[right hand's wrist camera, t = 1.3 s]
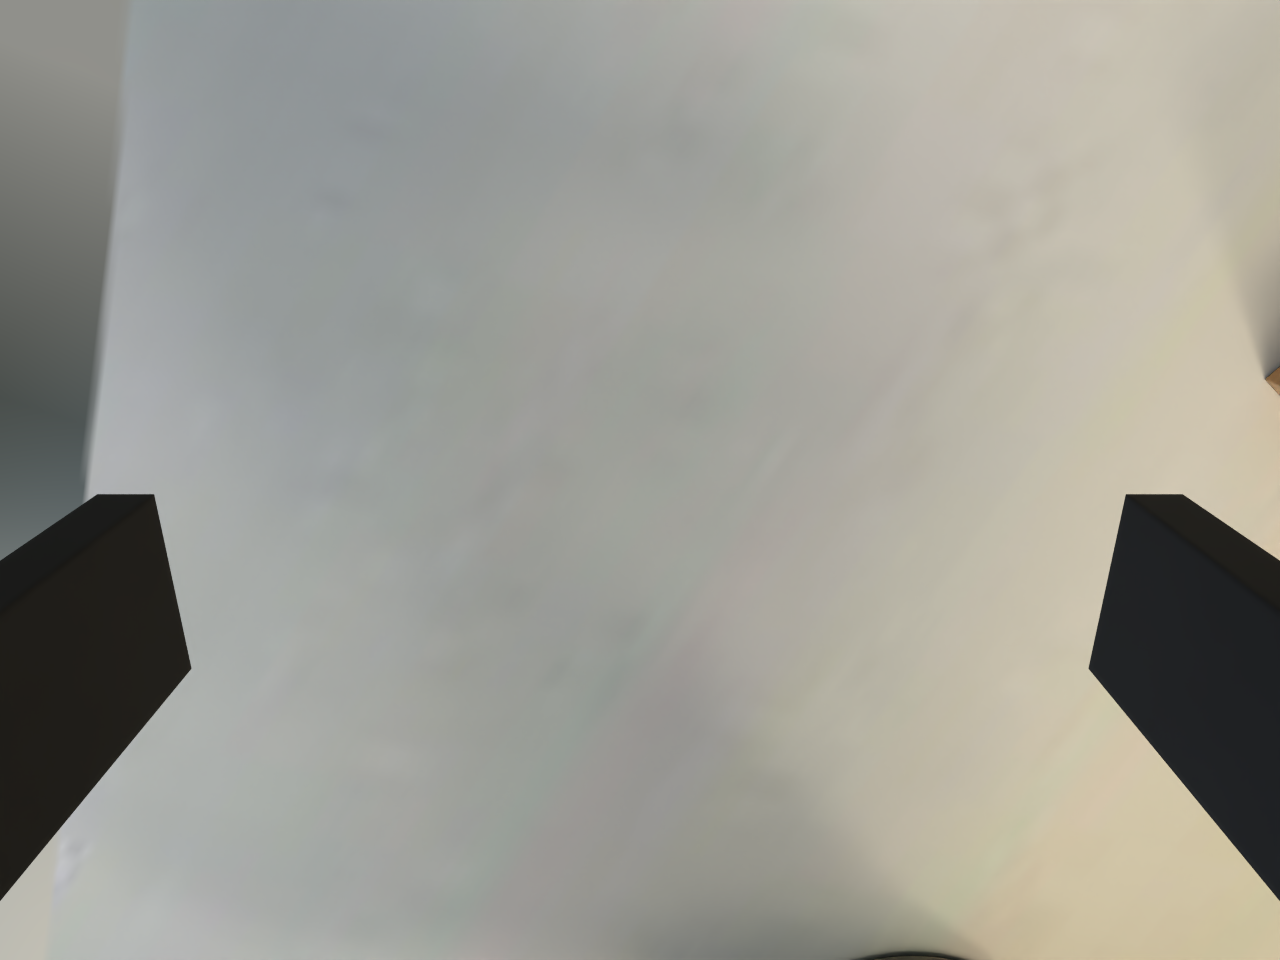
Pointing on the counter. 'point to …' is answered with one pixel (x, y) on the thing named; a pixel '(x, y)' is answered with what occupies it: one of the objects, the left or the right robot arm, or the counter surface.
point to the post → (1275, 380)
